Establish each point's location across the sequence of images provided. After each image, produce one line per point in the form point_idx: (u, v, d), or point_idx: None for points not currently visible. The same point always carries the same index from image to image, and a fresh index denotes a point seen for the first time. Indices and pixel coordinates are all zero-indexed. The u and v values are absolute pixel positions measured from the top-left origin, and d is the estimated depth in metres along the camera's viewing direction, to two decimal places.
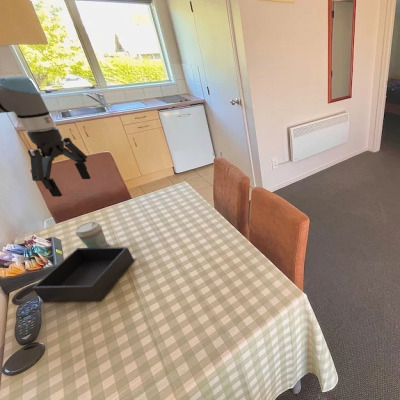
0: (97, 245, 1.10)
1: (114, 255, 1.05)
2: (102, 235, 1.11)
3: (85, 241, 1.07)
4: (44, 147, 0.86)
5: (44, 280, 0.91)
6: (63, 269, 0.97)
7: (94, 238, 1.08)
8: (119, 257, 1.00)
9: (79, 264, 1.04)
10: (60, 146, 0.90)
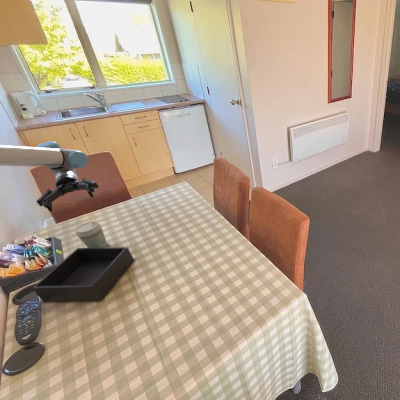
0: (97, 245, 1.10)
1: (114, 255, 1.05)
2: (102, 235, 1.11)
3: (85, 241, 1.07)
4: None
5: (44, 280, 0.91)
6: (63, 269, 0.97)
7: (94, 238, 1.08)
8: (119, 257, 1.00)
9: (79, 264, 1.04)
10: None
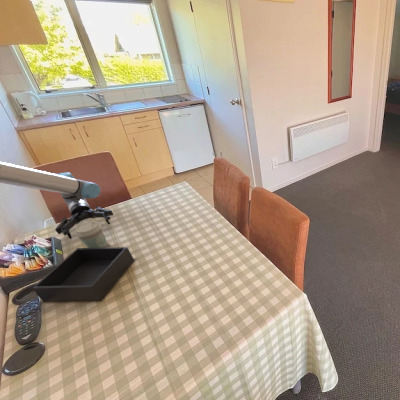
0: (97, 245, 1.10)
1: (114, 255, 1.05)
2: (102, 235, 1.11)
3: (85, 241, 1.07)
4: None
5: (44, 280, 0.91)
6: (63, 269, 0.97)
7: (94, 238, 1.08)
8: (119, 257, 1.00)
9: (79, 264, 1.04)
10: None
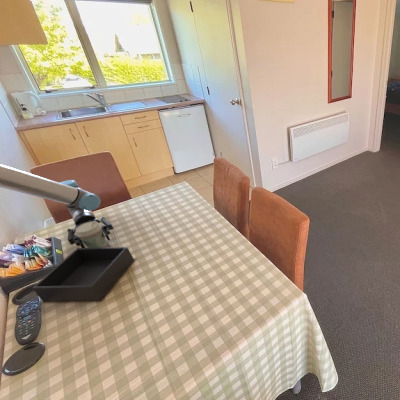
0: (97, 245, 1.10)
1: (114, 255, 1.05)
2: (102, 235, 1.11)
3: (85, 241, 1.07)
4: None
5: (44, 280, 0.91)
6: (63, 269, 0.97)
7: (94, 238, 1.08)
8: (119, 257, 1.00)
9: (79, 264, 1.04)
10: None
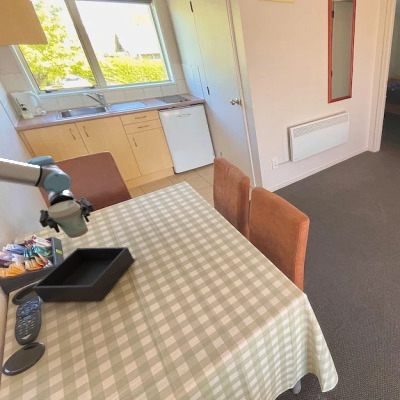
0: (74, 228, 0.95)
1: (114, 255, 1.05)
2: (80, 217, 0.96)
3: (60, 223, 0.92)
4: None
5: (44, 280, 0.91)
6: (63, 269, 0.97)
7: (70, 219, 0.93)
8: (119, 257, 1.00)
9: (79, 264, 1.04)
10: None
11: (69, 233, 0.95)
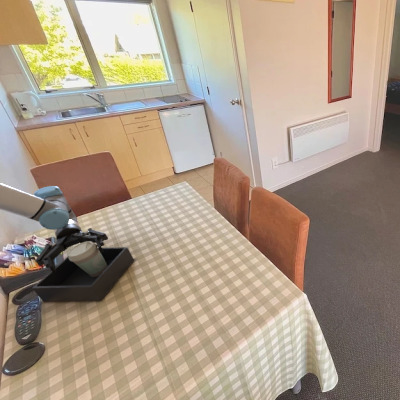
0: (95, 268, 0.97)
1: (114, 255, 1.05)
2: (99, 256, 0.98)
3: (80, 265, 0.94)
4: None
5: (44, 280, 0.91)
6: (63, 269, 0.97)
7: (90, 261, 0.94)
8: (119, 257, 1.00)
9: None
10: None
11: (91, 273, 0.97)
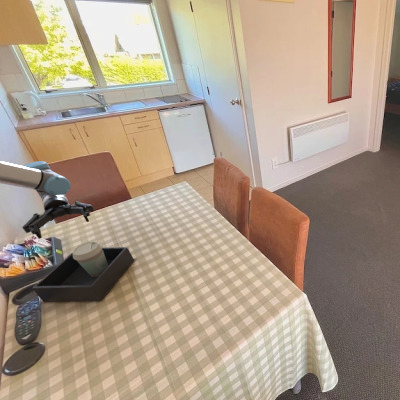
0: (97, 268, 0.97)
1: (114, 255, 1.05)
2: (103, 257, 0.98)
3: (83, 264, 0.94)
4: None
5: (44, 280, 0.91)
6: (63, 269, 0.97)
7: (93, 261, 0.95)
8: (119, 257, 1.00)
9: (79, 264, 1.04)
10: None
11: (92, 273, 0.97)
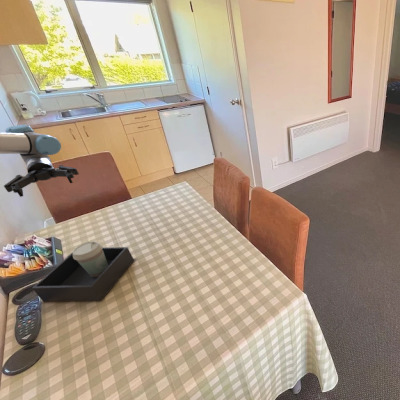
0: (97, 268, 0.97)
1: (114, 255, 1.05)
2: (103, 257, 0.98)
3: (83, 264, 0.94)
4: None
5: (44, 280, 0.91)
6: (63, 269, 0.97)
7: (93, 261, 0.95)
8: (119, 257, 1.00)
9: (79, 264, 1.04)
10: None
11: (92, 273, 0.97)
